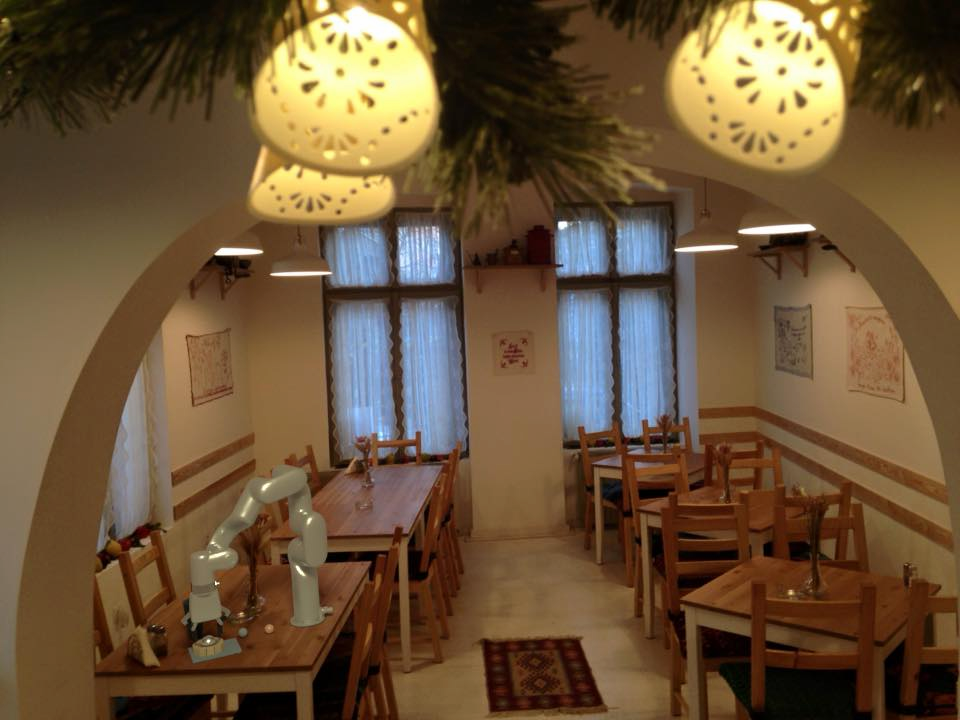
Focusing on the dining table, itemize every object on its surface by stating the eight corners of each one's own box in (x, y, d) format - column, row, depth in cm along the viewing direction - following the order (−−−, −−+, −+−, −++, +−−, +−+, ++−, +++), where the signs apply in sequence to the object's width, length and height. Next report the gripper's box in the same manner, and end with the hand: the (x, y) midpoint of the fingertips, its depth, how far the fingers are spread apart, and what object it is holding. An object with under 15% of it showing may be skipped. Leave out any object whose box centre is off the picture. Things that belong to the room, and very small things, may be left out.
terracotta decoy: (273, 630, 302) (272, 622, 302) (275, 633, 300) (274, 625, 299) (264, 632, 301) (263, 624, 301) (266, 635, 298) (265, 626, 298)
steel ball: (215, 645, 289) (214, 631, 288) (217, 650, 284) (216, 636, 284) (200, 649, 286) (199, 635, 286) (202, 654, 282) (201, 639, 282)
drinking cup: (188, 643, 295) (184, 588, 294) (182, 637, 302) (177, 583, 300) (209, 637, 300) (205, 582, 299) (203, 631, 306) (198, 578, 305)
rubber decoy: (246, 634, 300) (246, 625, 300) (248, 637, 297) (247, 628, 297) (237, 636, 299) (237, 627, 299) (239, 639, 296) (238, 630, 296)
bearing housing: (235, 640, 295) (234, 631, 295) (241, 652, 284) (240, 642, 284) (188, 650, 288) (187, 641, 288) (192, 663, 277) (192, 653, 277)
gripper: (228, 579, 291) (231, 629, 292) (175, 589, 284) (179, 640, 285) (231, 585, 284) (235, 636, 285) (178, 595, 277) (182, 647, 278)
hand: (207, 637), depth 285 cm, fingers open, 7 cm apart
